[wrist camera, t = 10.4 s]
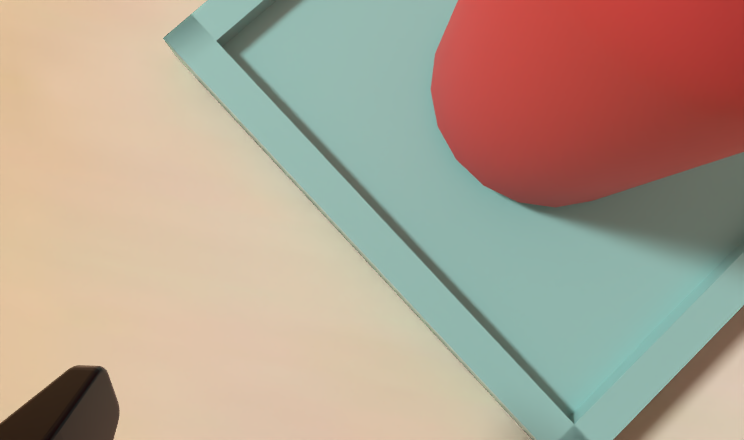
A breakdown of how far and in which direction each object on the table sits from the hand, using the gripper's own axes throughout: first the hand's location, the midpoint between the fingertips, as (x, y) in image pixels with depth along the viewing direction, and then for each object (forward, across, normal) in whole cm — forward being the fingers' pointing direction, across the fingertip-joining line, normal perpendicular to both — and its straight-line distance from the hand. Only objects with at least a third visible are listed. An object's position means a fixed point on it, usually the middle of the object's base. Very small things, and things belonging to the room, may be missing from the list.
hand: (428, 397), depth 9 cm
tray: (+12, -3, +1) cm, 13 cm away
